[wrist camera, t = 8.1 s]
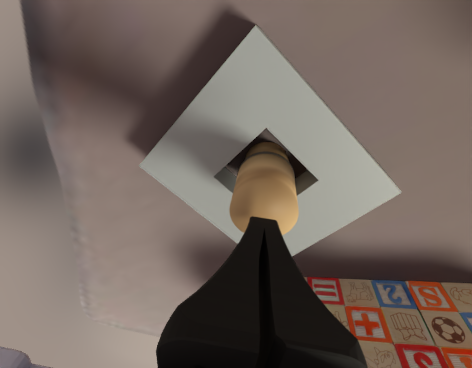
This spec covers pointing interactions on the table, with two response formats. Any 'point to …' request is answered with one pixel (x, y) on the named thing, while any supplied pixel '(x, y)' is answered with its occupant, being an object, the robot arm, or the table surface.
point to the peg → (265, 188)
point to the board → (284, 129)
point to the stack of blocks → (403, 320)
